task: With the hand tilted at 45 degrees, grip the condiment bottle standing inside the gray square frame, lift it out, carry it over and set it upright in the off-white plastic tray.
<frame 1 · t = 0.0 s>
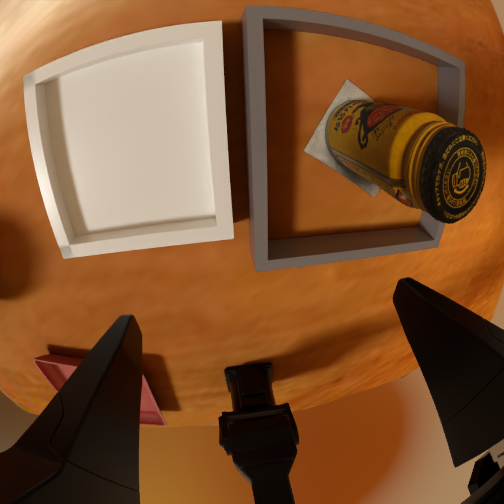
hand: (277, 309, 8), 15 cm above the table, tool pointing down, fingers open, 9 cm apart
plant saucer: (105, 382, 35), on the table
condiment: (361, 139, 20), resting in gray square frame
gray square frame: (363, 140, 20), on the table
tray: (127, 142, 18), on the table
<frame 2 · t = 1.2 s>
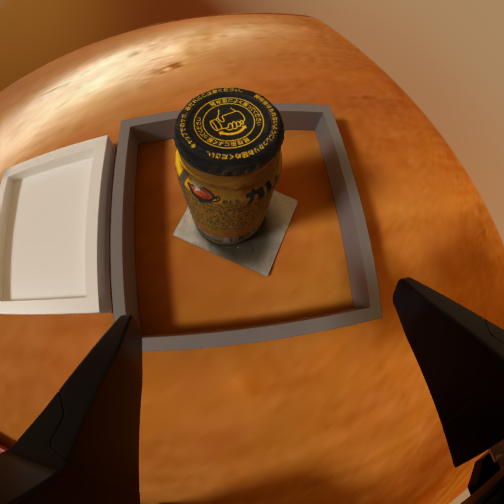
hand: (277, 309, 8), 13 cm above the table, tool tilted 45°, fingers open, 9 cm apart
condiment: (237, 218, 23), resting in gray square frame
gray square frame: (237, 217, 23), on the table
tray: (48, 233, 21), on the table
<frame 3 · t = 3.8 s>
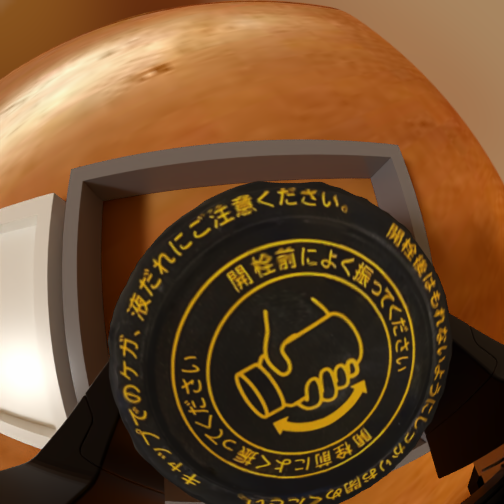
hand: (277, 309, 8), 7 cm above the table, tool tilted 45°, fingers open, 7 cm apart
condiment: (260, 334, 15), resting in gray square frame, touching gripper
gray square frame: (260, 335, 14), on the table
tray: (2, 327, 13), on the table
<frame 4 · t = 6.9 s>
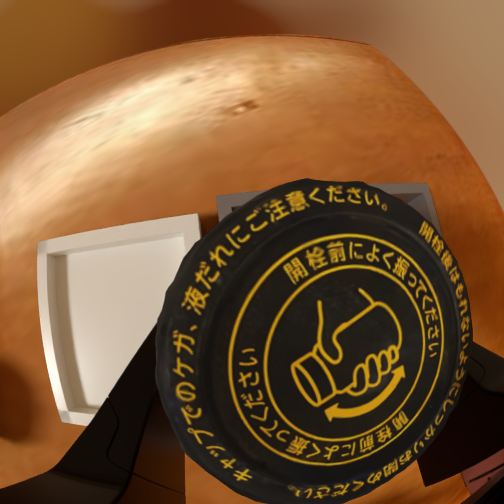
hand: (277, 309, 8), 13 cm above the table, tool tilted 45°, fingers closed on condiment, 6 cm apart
condiment: (270, 333, 15), point 6 cm above the table, touching gripper
gray square frame: (351, 309, 22), on the table
tray: (125, 330, 20), on the table
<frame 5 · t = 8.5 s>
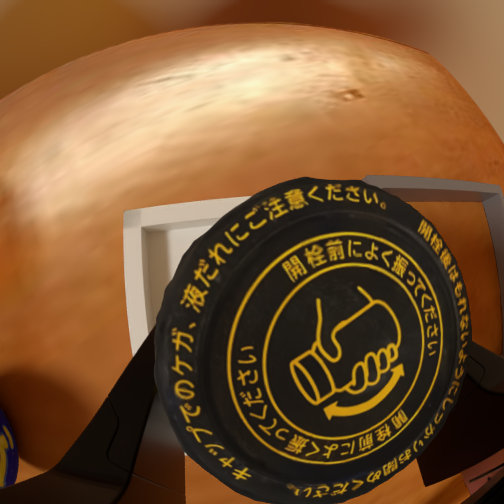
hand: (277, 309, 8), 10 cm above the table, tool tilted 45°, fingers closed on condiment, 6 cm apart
condiment: (269, 332, 15), point 3 cm above the table, touching gripper
ornament: (2, 423, 13), on the table
gray square frame: (456, 294, 19), on the table
tray: (252, 326, 18), on the table
when the fingers open (8 cm above the table, at t = 9.6 s): condiment stays where it is, resting on tray.
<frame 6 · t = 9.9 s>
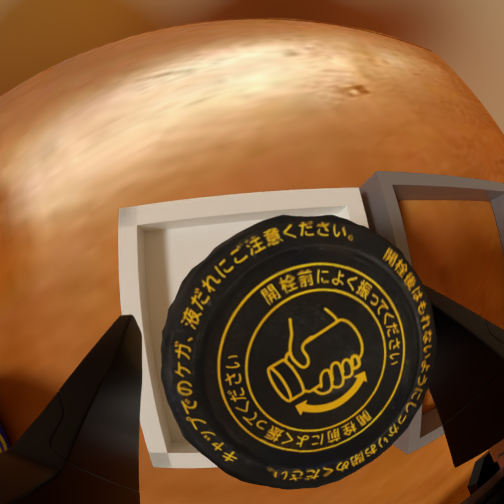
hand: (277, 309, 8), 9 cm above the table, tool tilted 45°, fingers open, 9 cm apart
condiment: (266, 335, 16), point 1 cm above the table, touching tray
gray square frame: (466, 295, 18), on the table
tray: (256, 332, 16), on the table
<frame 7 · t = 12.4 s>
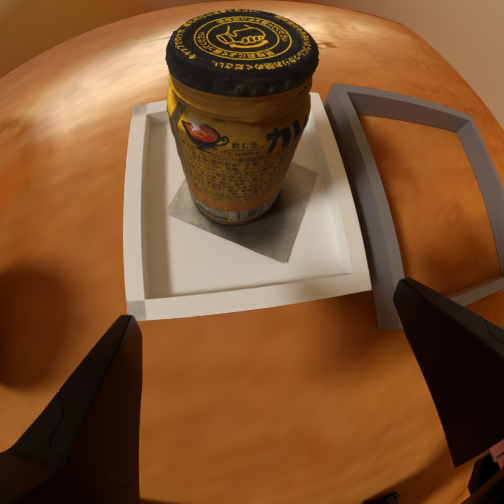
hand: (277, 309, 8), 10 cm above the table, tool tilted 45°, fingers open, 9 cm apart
condiment: (244, 193, 18), point 1 cm above the table, touching tray
gray square frame: (438, 197, 21), on the table
tray: (236, 195, 19), on the table
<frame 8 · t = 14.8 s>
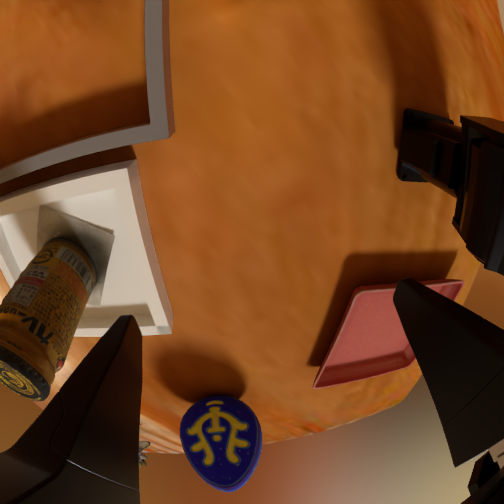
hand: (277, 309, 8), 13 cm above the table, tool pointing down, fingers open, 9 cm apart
passion flower: (122, 428, 41), on the table
plant saucer: (381, 322, 32), on the table
condiment: (70, 258, 19), point 1 cm above the table, touching tray
ornament: (218, 399, 36), on the table
gray square frame: (43, 42, 10), on the table
tray: (74, 258, 20), on the table
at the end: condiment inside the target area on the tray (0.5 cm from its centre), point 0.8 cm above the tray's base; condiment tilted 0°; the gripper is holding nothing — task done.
